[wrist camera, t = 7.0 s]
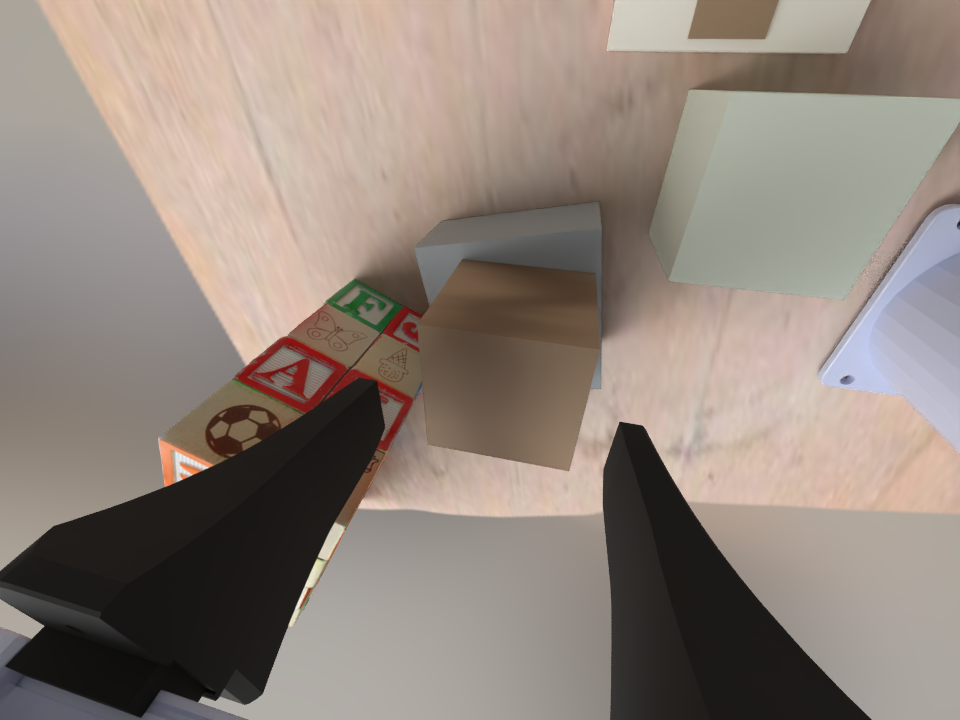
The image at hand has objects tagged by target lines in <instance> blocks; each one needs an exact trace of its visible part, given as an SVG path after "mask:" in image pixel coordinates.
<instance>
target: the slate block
mask: <svg viewBox="0 0 960 720" xmlns="http://www.w3.org/2000/svg"><path fill="white" fill-rule="evenodd" d="M414 252H415V255H416V259H417V263H418V266H419V270H420V274H421V277H422V281H423V285H424V289H425V292H426V296H427V300H428V303H429V307H430V305H431V304H432V302H433V301H434V299H435V298H436V296H437V295H438V294H439V292H440V291H441V289H442V288H443V286H444V285H445V283H446V282H447V280H448V279H449V278H450V276H451V275H452V273H453V272H454V270H455V269H456V267H457V266H458V264H459V263H460V262H461V260H462V259H466V260H476V261H485V262H495V263H504V264H514V265H523V266H532V267H542V268H551V269H561V270H570V271H580V272H589V273H596V288H597V305H598V322H599V339H600V352H599V356H598V360H597V364H596V368H595V372H594V376H593V380H592V383H591V387H590V389H601V327H602V224H601V215H600V206H599V201H598V202H590V203H582V204H574V205H566V206H558V207H550V208H541V209H533V210H525V211H517V212H509V213H501V214H493V215H485V216H477V217H469V218H461V219H452V220H444V221H441V222H440V223H439V224H438V225H437V226H436V227H435V228H434V229H433V230H432V231H431V232H430V233H429V234H428V235H427V236H426V237H425V238H424V239H423V240H422V241H420V242H419V243H418V244H417V245H416V246H415V247H414Z"/></svg>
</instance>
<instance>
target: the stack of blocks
mask: <svg viewBox="0 0 960 720" xmlns="http://www.w3.org/2000/svg"><path fill="white" fill-rule="evenodd" d="M422 317H423V316H422V315H420V314H418V313H416V312H414V311H412V310H411V309H409V308H407V307H404V306H402V305H400V304H398V303H396V302H394V301H393V300H391V299H389V298H387V297H385V296H384V295H382V294H380V293H378V292H376V291H374V290H373V289H371V288H369V287H367V286H365V285H363V284H362V283H360V282H358V281H356V280H352V281H351V282H350V283H349V284H347V285H346V286H345V287H343V288H342V289H340V290H339V291H338V292H337V293H335V294H334V295H333V296H332V297H331V298H329V299H328V300H326V302H325V303H324V305H323V306H322V307H321V308H320V309H319V310H317V311H316V312H315V313H313V314H312V315H311V316H310V317H308V318H307V319H306V320H304V321H303V322H302V323H301V324H299V325H298V326H297V327H296V328H295V329H294V330H292V331H291V332H290V333H289V335H288V336H285V337H282V338H280V339H279V340H277V341H276V342H275V343H274V344H272V345H271V346H270V347H269V348H268V349H266V350H265V351H264V352H263V353H262V354H260V355H259V356H258V357H257V358H255V359H254V360H252V361H251V362H250V364H249V365H247V366H246V367H245V368H243V369H242V370H241V371H240V372H238V373H237V374H236V375H235V376H234V378H233V379H232V380H231V381H230V382H228V383H227V384H225V385H224V386H223V387H222V388H220V389H219V390H218V391H217V392H216V393H214V394H213V395H212V396H211V397H209V398H208V399H206V400H205V401H204V402H202V403H201V404H200V405H199V406H197V407H196V408H195V409H194V410H192V411H191V412H190V413H189V414H188V415H186V416H185V417H184V418H182V419H181V420H180V421H179V422H177V423H176V424H175V425H174V426H172V427H171V428H170V429H169V430H167V431H166V432H165V433H164V434H163V435H161V436H160V437H159V438H158V439H159V440H158V441H159V448H160V454H161V460H162V472H163V476H164V485H165V486H169V485H171V484H174V483H176V482H178V481H181V480H183V479H185V478H187V477H190V476H192V475H194V474H196V473H198V472H201V471H203V470H205V469H207V468H209V467H212V466H214V465H216V464H218V463H220V462H222V461H224V460H226V459H228V458H230V457H232V456H234V455H236V454H238V453H240V452H242V451H244V450H246V449H247V448H249V447H251V446H253V445H255V444H257V443H258V442H260V441H262V440H264V439H265V438H267V437H269V436H270V435H272V434H274V433H275V432H277V431H278V430H280V429H282V428H283V427H285V426H287V425H288V424H290V423H291V422H293V421H295V420H296V419H298V418H299V417H301V416H303V415H304V414H306V413H307V412H309V411H310V410H312V409H313V408H314V407H316V406H317V405H319V404H320V403H322V402H323V401H325V400H326V399H328V398H329V397H331V396H332V395H334V394H335V393H337V392H338V391H339V390H341V389H342V388H344V387H345V386H347V385H348V384H350V383H351V382H353V381H354V380H356V379H358V378H365V379H370V380H376V381H377V382H378V388H379V394H380V399H381V405H382V411H383V416H384V422H385V430H384V432H383V435H382V437H381V440H380V442H379V445H378V447H377V449H376V451H375V454H374V456H373V458H372V459H371V461H370V463H369V465H368V466H367V468H366V470H365V472H364V473H363V475H362V477H361V479H360V480H359V482H358V484H357V485H356V487H355V489H354V490H353V492H352V494H351V495H350V497H349V499H348V501H347V502H346V504H345V506H344V507H343V509H342V511H341V512H340V514H339V516H338V517H337V519H336V521H335V523H334V525H333V527H332V528H331V530H330V532H329V534H328V536H327V538H326V540H325V543H324V545H323V547H322V549H321V551H320V553H319V555H318V558H317V560H316V562H315V564H314V566H313V569H312V571H311V573H310V575H309V578H308V580H307V582H306V585H305V587H304V589H303V591H302V594H301V596H300V598H299V601H298V603H297V606H296V608H295V611H294V613H293V615H292V618H291V620H290V623H289V625H288V626H291V627H293V626H294V625H295V623H296V621H297V619H298V617H299V615H300V613H301V612H302V611H303V610H304V608H305V606H306V604H307V603H308V601H309V599H310V597H311V595H312V593H313V591H314V589H315V587H316V586H317V584H318V582H319V580H320V578H321V576H322V574H323V572H324V570H325V569H326V567H327V565H328V563H329V561H330V559H331V557H332V555H333V553H334V551H335V549H336V547H337V545H338V543H339V541H340V539H341V537H342V535H343V534H344V532H345V530H346V528H347V526H348V524H349V523H350V521H351V519H352V517H353V515H354V514H355V512H356V510H357V508H358V506H359V504H360V503H361V501H362V499H363V497H364V495H365V493H366V491H367V490H368V488H369V487H370V485H371V483H372V481H373V479H374V477H375V475H376V474H377V472H378V470H379V468H380V466H381V464H382V463H383V461H384V459H385V457H386V455H387V453H388V451H389V449H390V447H391V446H392V444H393V442H394V440H395V438H396V436H397V434H398V432H399V430H400V428H401V426H402V424H403V422H404V420H405V418H406V417H407V415H408V413H409V411H410V409H411V407H412V405H413V403H414V401H415V399H416V397H417V396H418V395H419V393H420V392H421V390H422V388H423V384H422V373H421V362H420V350H419V339H418V328H417V324H418V323H419V321H420V320H421V318H422Z"/></svg>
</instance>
